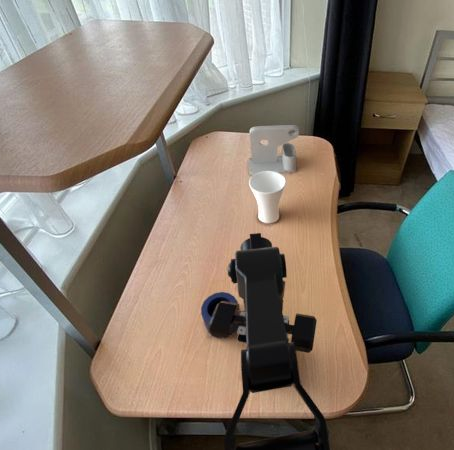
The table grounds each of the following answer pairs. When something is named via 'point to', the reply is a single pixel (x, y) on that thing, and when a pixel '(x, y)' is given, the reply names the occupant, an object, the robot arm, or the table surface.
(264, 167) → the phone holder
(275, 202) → the cup
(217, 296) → the blue hollow cylinder
